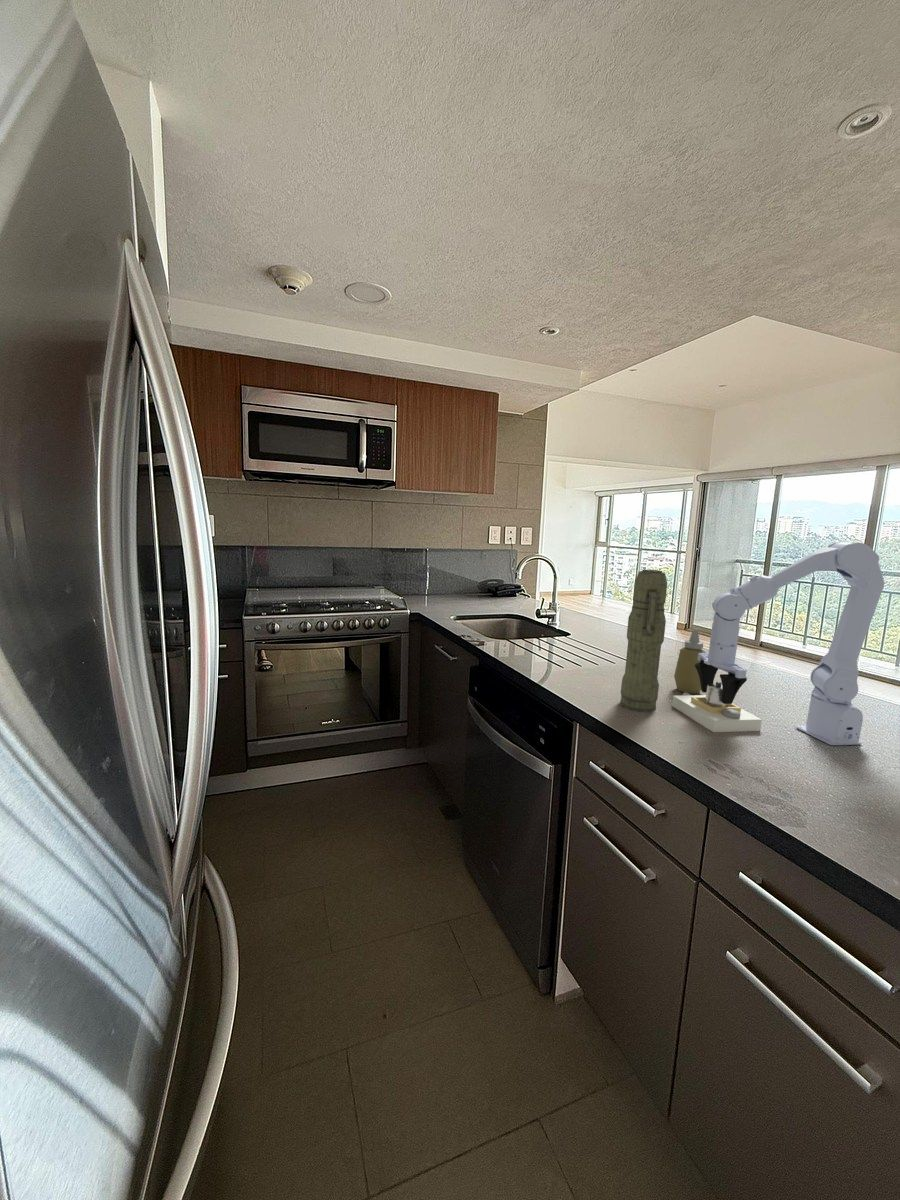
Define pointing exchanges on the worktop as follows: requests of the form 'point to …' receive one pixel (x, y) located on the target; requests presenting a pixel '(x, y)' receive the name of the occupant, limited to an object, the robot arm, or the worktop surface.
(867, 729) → the worktop surface
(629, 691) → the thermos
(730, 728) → the white holder tray
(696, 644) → the squeeze bottle
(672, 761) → the worktop surface
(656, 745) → the worktop surface
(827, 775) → the worktop surface
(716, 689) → the spout can
